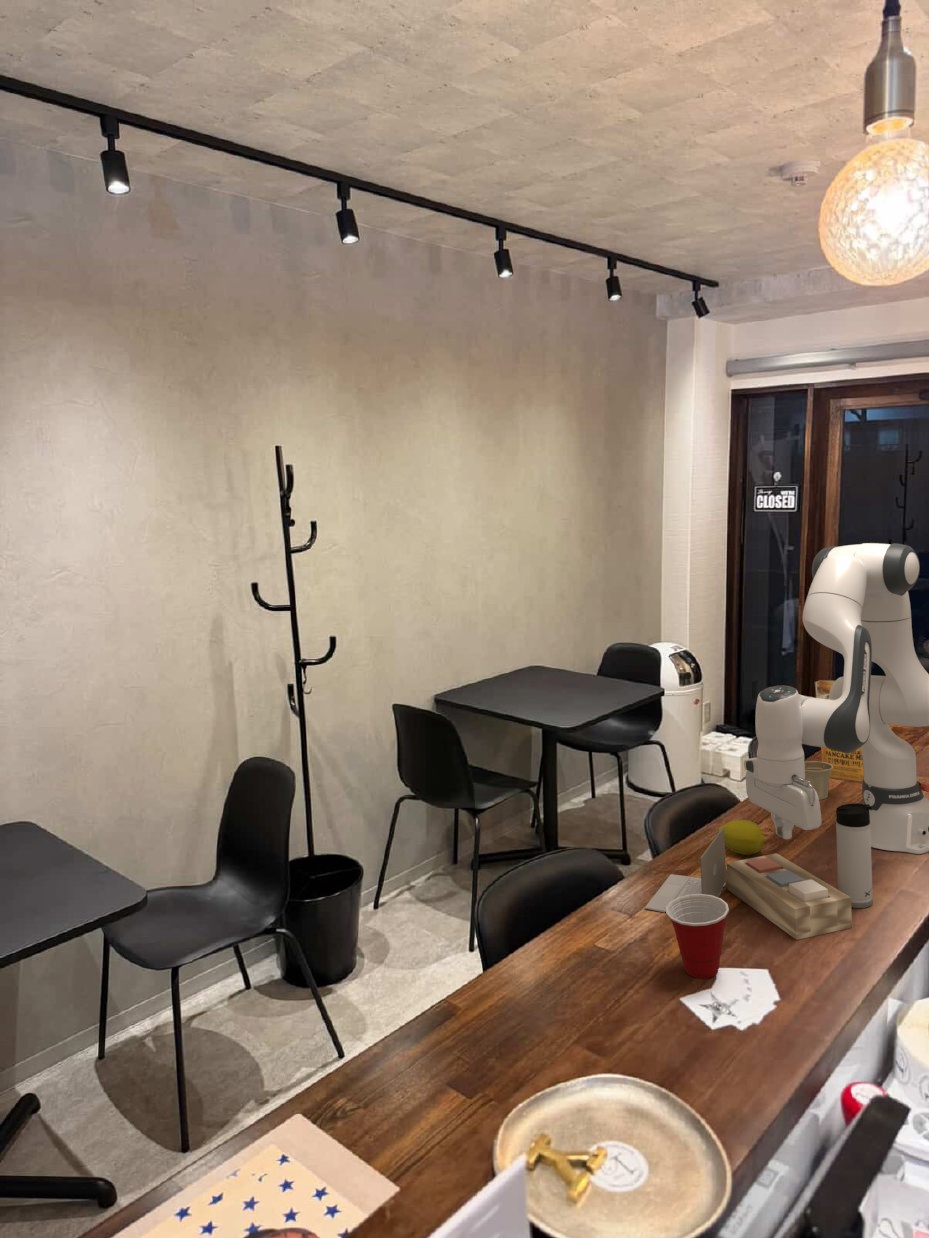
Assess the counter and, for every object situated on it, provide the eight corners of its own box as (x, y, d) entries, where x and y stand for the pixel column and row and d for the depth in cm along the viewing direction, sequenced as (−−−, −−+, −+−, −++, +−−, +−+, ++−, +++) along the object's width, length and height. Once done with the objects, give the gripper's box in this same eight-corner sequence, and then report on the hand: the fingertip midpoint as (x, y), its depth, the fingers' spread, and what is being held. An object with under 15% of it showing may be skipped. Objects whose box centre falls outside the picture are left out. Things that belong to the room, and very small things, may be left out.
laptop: (670, 877, 197) (667, 820, 196) (727, 885, 191) (724, 826, 189) (644, 911, 182) (640, 850, 180) (705, 920, 175) (701, 857, 174)
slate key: (789, 884, 180) (788, 870, 180) (804, 893, 175) (803, 879, 175) (767, 888, 179) (766, 874, 178) (782, 898, 174) (781, 883, 174)
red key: (768, 871, 187) (767, 857, 187) (781, 879, 182) (781, 865, 182) (747, 875, 186) (746, 861, 186) (760, 884, 181) (759, 870, 181)
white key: (811, 893, 173) (811, 879, 172) (828, 904, 168) (827, 889, 167) (789, 898, 171) (788, 883, 171) (805, 908, 167) (804, 893, 166)
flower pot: (802, 789, 247) (801, 759, 246) (837, 793, 241) (836, 762, 240) (792, 799, 239) (791, 768, 238) (829, 804, 234) (827, 772, 233)
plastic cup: (656, 965, 159) (653, 902, 158) (705, 949, 163) (702, 888, 162) (694, 993, 149) (691, 926, 148) (745, 975, 153) (742, 910, 152)
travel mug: (878, 908, 174) (875, 810, 171) (842, 908, 175) (839, 811, 173) (870, 895, 180) (867, 800, 177) (835, 894, 181) (832, 800, 179)
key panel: (777, 879, 190) (776, 853, 190) (852, 927, 167) (851, 897, 166) (727, 889, 187) (726, 862, 187) (796, 939, 164) (795, 909, 164)
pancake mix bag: (822, 770, 262) (819, 677, 259) (889, 780, 248) (886, 682, 245) (812, 775, 258) (809, 681, 254) (880, 786, 244) (877, 687, 241)
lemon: (773, 852, 205) (771, 819, 204) (757, 863, 200) (755, 829, 199) (730, 843, 213) (728, 811, 212) (713, 853, 207) (712, 820, 206)
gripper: (828, 781, 164) (831, 852, 166) (766, 754, 184) (768, 818, 186) (798, 786, 163) (801, 857, 165) (739, 759, 183) (742, 823, 184)
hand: (783, 836), depth 175 cm, fingers closed
